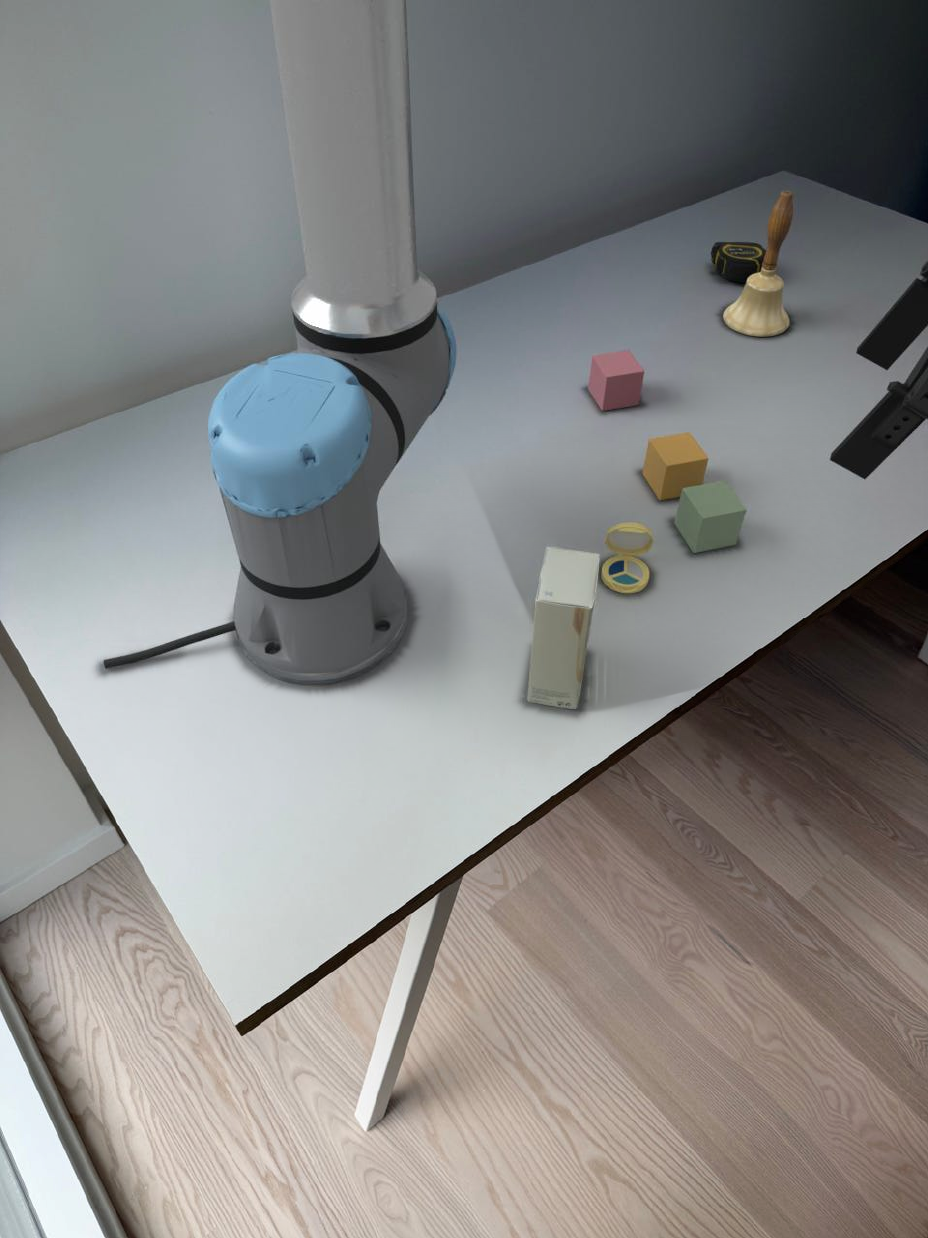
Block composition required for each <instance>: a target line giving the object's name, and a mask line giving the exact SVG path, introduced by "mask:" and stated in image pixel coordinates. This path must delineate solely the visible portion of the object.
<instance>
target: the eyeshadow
mask: <svg viewBox="0 0 928 1238" xmlns="http://www.w3.org/2000/svg"><path fill="white" fill-rule="evenodd" d="M604 543H605V545H606V547H607V549H608V550H609V551H611V552H612V553H614V554H617V555H614V556H612V557H609V558H608V559H606V560H605V562H603V565H602V567H601V576H600V577H601V580H602V582H603V584H604V585H605V586H606V587H607V588H609V589H610V590H612V591H614V592H617V593H621V594H635V593H638V592H640V591H641V592H642V590H644V589H645V588H646V586H647V585H648V584H649V581H650V575H651V574H650V569H649V567H648V566H647V564H646V563H645V562H644V561H643V560H641V559H640V558H638V557H635V556H640V555H643V554H645V553H647V552H648V551H650V550H651V549H652V548H653V546H654V535H653V532H652V531H651V529H649V527H648V526H645V525H643V524H641V523H637V522H630V521H629V522H621V523H618V524H615V525H612V526H611V527H610V528H609V529H608V531H607V532H606V536H605V541H604Z"/></svg>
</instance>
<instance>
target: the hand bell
mask: <svg viewBox="0 0 928 1238" xmlns="http://www.w3.org/2000/svg"><path fill="white" fill-rule="evenodd" d="M793 194H794V193H793V192H792V190H791V191H790V190H782V191H781V192H780V195H779V196H778V199H777V201H776V202H775V204H774V205H773V207H772V210H771V212H770V214H769V218H768V222H767V230H766V233H767V234H766V236H767V246H766V249H765V250H766V253H765V256H764V261H763V263H762V269H761V272H759V273H755V274H752V275H751V276H749V278H748V279H747V282H745V284H744V287H743V289H742V291H741V294H740V295H739V297H738V298H737V300H736V301H735V302H733V303H731V304H729V305H728V306H727V308H726V309H725V310H724V312H723V314H722V318H723V322H724V323H725V324H726V325H727V326H728V328H730V329H731V330H733V331H736V332H737V333H740V334H743V335H746V336H750V337H755V338H757V337H758V338H760V337H761V338H766V337H774V336H777V335H781V334H783V333H784V332H785V331H787V329H788V328H789V327H790V318H789V315H788V313H787V312H786V310H785V308H784V306H783V291H784V284H785V283H784V281H783V278H781V276H779V275H777V274H776V270H777V267H778V262H779V261H778V260H779V255H780V250H781V248H782V246H783V243H784V241H785V239H786V237H787V235H788V234H789V231H790V229H791V226H792V222H793V217H794V202H793V201H794V200H793V199H794V198H793V197H794V195H793Z"/></svg>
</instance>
